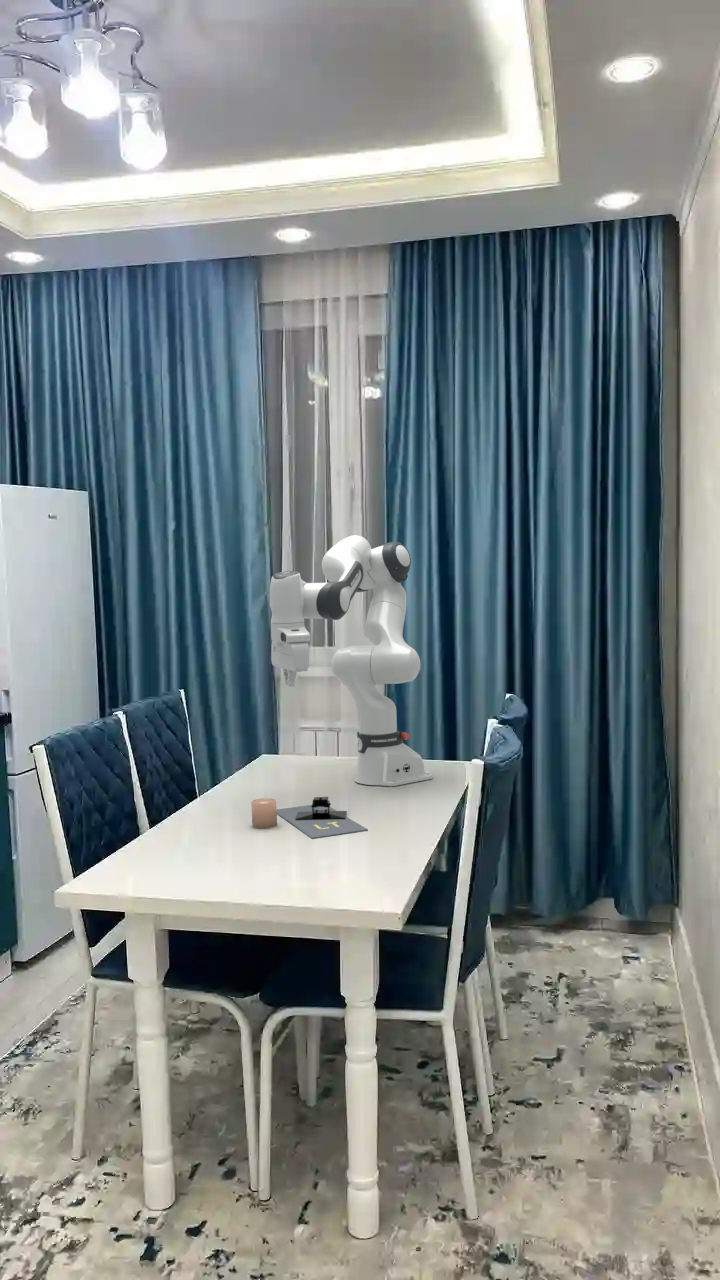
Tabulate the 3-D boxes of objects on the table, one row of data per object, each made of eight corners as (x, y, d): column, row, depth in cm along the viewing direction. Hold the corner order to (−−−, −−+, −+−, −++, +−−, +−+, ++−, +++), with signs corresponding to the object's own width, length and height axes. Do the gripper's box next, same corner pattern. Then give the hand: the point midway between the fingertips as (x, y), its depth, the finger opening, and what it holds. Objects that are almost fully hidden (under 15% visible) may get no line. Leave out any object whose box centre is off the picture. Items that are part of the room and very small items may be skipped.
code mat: (323, 804, 263) (323, 802, 263) (367, 830, 236) (367, 829, 236) (272, 811, 258) (272, 809, 258) (312, 838, 231) (312, 837, 231)
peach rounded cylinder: (272, 820, 248) (271, 797, 248) (280, 826, 243) (279, 802, 242) (249, 824, 246) (248, 800, 245) (256, 830, 240) (255, 805, 240)
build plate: (295, 820, 247) (294, 802, 246) (298, 813, 254) (297, 795, 254) (345, 819, 246) (344, 800, 246) (347, 811, 253) (346, 793, 253)
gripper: (264, 632, 271) (266, 682, 272) (289, 636, 252) (291, 691, 253) (286, 630, 273) (288, 681, 274) (312, 634, 254) (314, 689, 256)
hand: (290, 685), depth 264 cm, fingers closed
